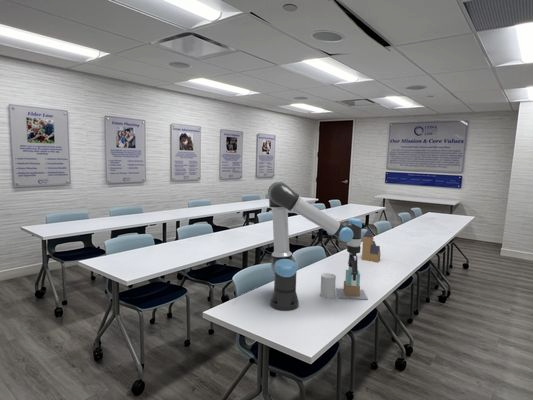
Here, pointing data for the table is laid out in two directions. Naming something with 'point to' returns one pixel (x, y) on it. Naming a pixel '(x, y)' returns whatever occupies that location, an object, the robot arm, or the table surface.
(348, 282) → the teal cube
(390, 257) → the table surface
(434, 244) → the table surface
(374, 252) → the toy building blocks
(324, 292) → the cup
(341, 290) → the tower base
